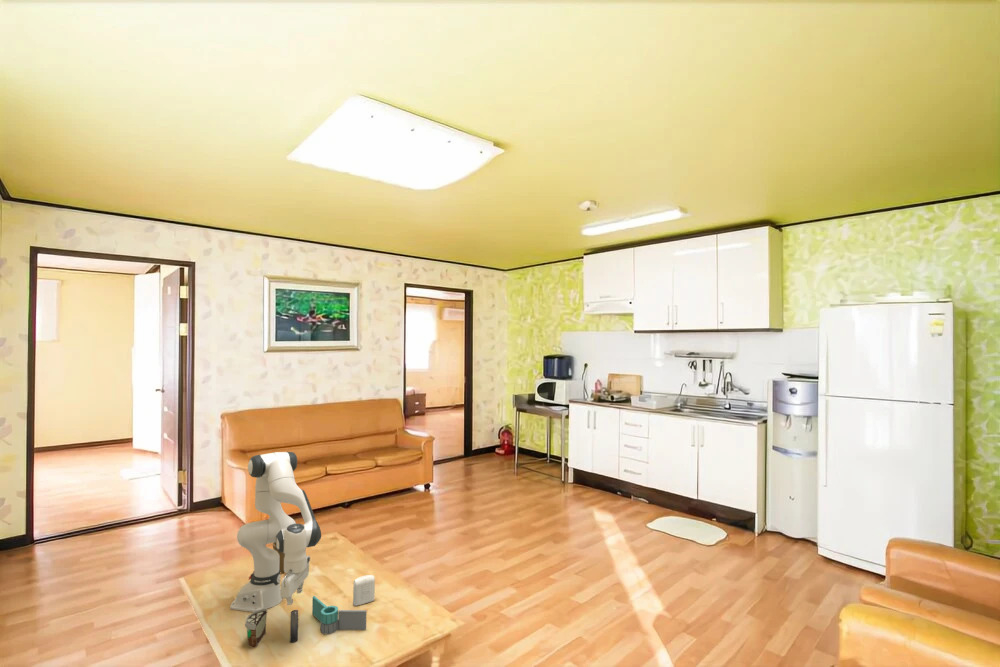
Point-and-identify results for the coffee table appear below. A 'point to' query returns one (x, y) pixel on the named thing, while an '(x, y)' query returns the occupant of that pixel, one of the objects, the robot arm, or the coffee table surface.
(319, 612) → the teal hinge knuckle plate
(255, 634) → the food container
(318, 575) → the coffee table surface
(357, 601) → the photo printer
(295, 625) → the hinge pin
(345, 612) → the frame leaf
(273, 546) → the plant pot
